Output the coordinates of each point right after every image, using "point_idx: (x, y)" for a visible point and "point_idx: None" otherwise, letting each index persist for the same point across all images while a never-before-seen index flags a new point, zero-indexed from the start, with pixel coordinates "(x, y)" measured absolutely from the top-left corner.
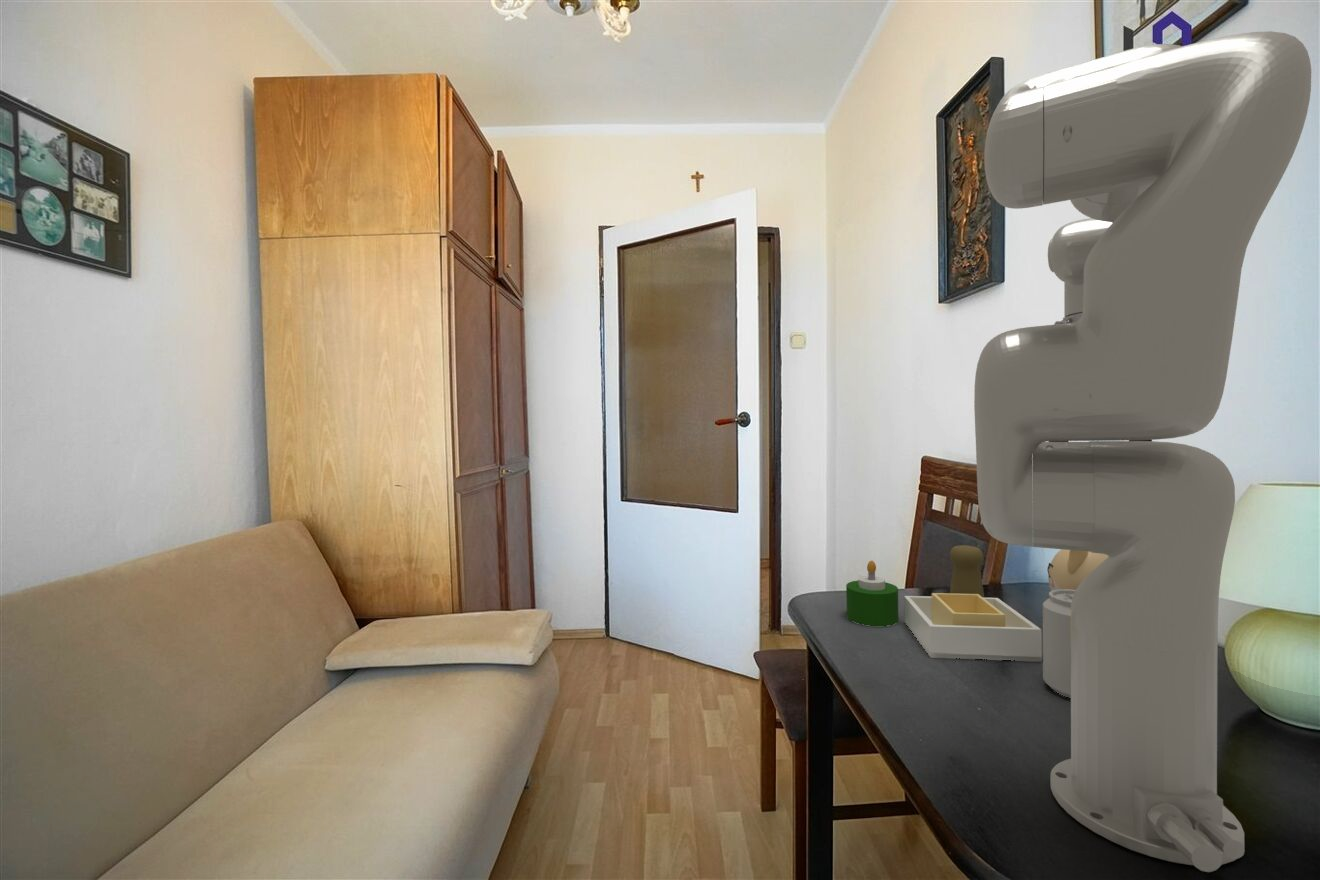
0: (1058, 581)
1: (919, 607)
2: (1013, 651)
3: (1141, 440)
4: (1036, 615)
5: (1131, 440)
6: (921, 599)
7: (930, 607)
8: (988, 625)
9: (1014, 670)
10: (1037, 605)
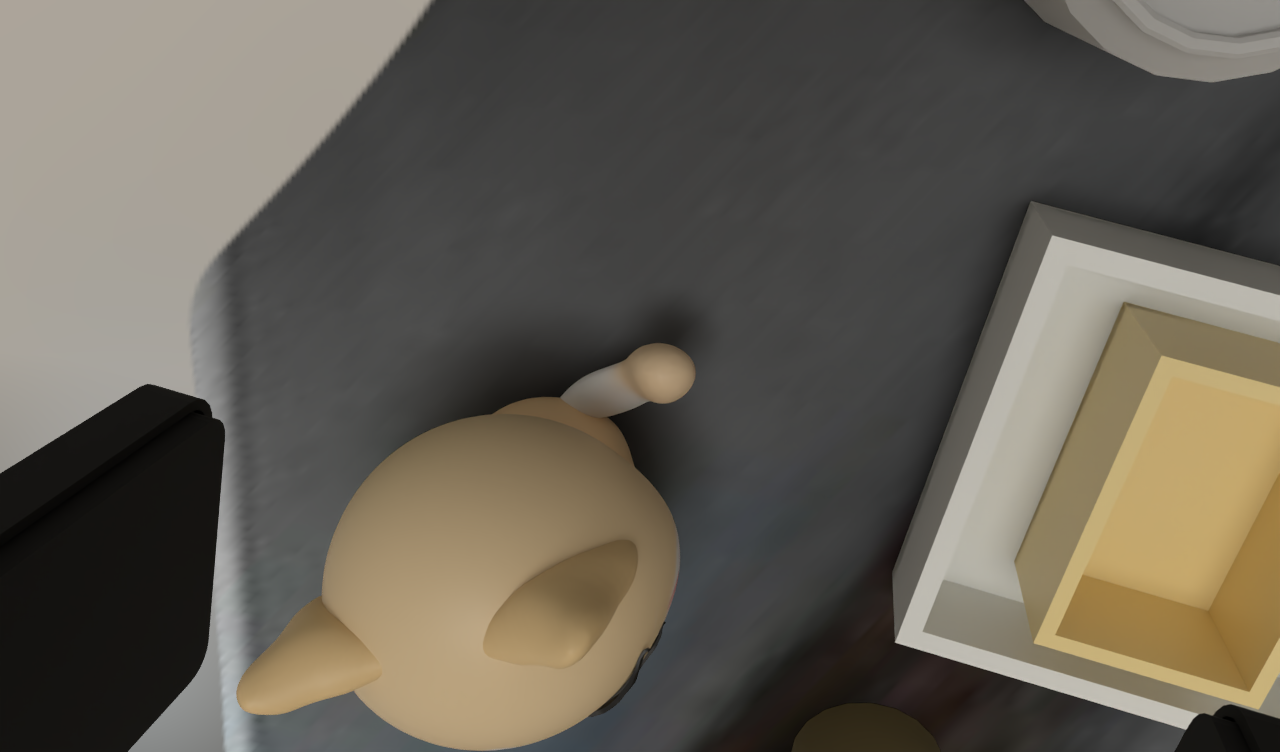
0: (671, 567)
1: None
2: (1152, 240)
3: (94, 546)
4: None
5: (94, 741)
6: None
7: None
8: (1225, 358)
9: (1220, 142)
10: None
